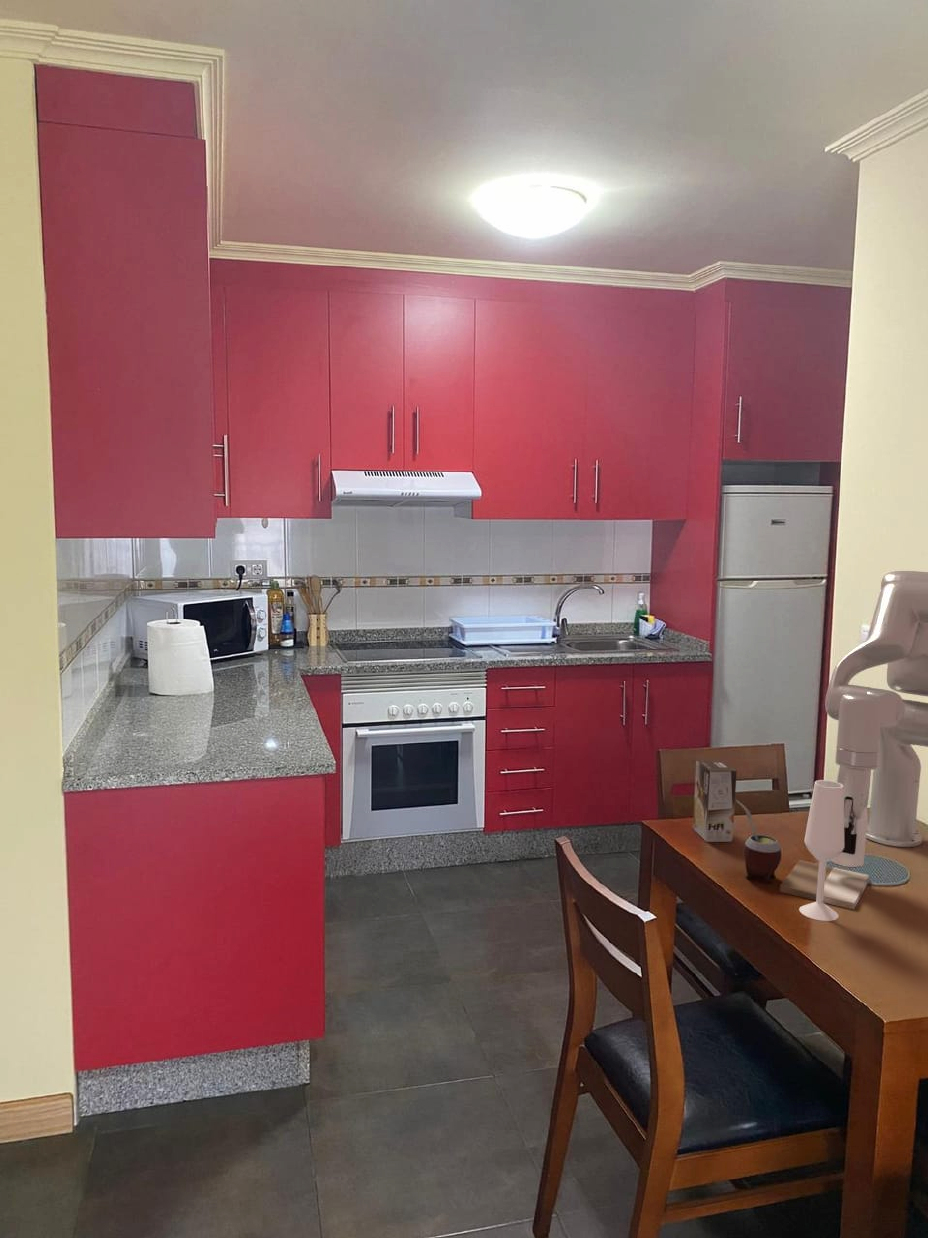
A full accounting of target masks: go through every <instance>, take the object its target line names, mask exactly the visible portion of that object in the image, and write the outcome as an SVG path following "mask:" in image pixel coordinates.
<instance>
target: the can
mask: <svg viewBox="0 0 928 1238" xmlns="http://www.w3.org/2000/svg"><path fill="white" fill-rule="evenodd" d="M865 806H866V805H865ZM850 817H855V814H853V813H851V815H850ZM868 819H869V815H868V809H866V807H865V808H864V811H863V813H862V816H861V818H860V819H858V820H857V824H856V831H855V834H857V838H856V850H855V854H848V853H843V852H841V853H840V854H839V855H838V856H837V857H835V858H834V859H832V860H831V861H830V862H831V863H833V864H834V865H836V866H840V867H842V868H849V869H850V868H852V869H855V868H861V867H862V866H863V865H864V863H865V852H866V843H867V842H866V841H867V838H866V831H867V824H868ZM850 822H851V823H852V825H853V821H852V820H850Z"/></svg>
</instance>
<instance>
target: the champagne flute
mask: <svg viewBox="0 0 928 1238" xmlns="http://www.w3.org/2000/svg"><path fill="white" fill-rule="evenodd" d="M808 812H809V813H808V818H807V824H806V829H805V834H804V845H805V847H806V849H807V850H808V852H809V853H810V854H811V855H812V856H813V857H814V858H815V859H816V860H818V862H819V863H818V864H819V872H818V885H817V897H816V900H815V901H814V902H811V903H810V902H809V903H807V904H804V905H802V906H800V907H799V909H798V911H799V912H800V913H801V914H802V915H803V916H805V917H807V918H808V919H813V920H816V921H817V920H818V921H822V922H831V921H836V920H837V919H838V918H839V917H840V916H839V914H838V913H837V912H836V911H835V910H834V909H832V907H830V906H828V905H827V904H826V903H824V902H823V897H824V885H825V872H826V866H827V862H831V860H832V859H834V858H835V857H837V856H838V855H839V854H840V853H841V852H842V851H843V849H844V799H843V785H842V784H840V783H838V782H837V781H834V780H829V779H828V780H827V779H819V780H815V781H814V785H813V790H812V796H811V801H810V807H809V811H808Z"/></svg>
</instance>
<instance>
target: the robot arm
mask: <svg viewBox="0 0 928 1238" xmlns="http://www.w3.org/2000/svg"><path fill="white" fill-rule="evenodd" d="M875 605H876V606H875V609H874V613H873V617H872V620H871V622H870V627H869V629H868V633H867V637H866V639H865V641H863V642H862V643H860V644H858V645H857V646H855V647H854V648H853V649H851V650H850V651H848V652H847V653H846V654H845V655H844V656H843V657H842V658H841V659H840V660H839V661H838V662H837V663H836V665H835V667H834V669H833V671H832V674H831V678H830V681H829V684H828V687H827V691H826V694H825V701H824V706H825V707H824V708H825V712H826V714H827V716H829V717H830V718H831V719H833V720H835V721H838V724H837V725H838V726H837V736H836V746H835V747H836V750H835V759H834V760H835V764H837V765H838V766H839V768H838V773H837V777H836V778H837V779H836V782H838V783H840V784H842V785H843V799H844V849H843V851H842V852H843V853H848V854H855V850H856V838H857V834H855V831H856V824H857V820H858V819H860V818H861V816H862V813H863V811H864V808H865V807H866V809H867V808H868V804H869V796H870V804H869V805H870V806H869V815H868V823H867V831H866V839H868V840H870V841H873V842H875V843H878V844H881V845H887V846H892V847H899V848H900V847H901V848H903V847H904V848H908V847H909V848H910V847H911V848H912V847H917V846H919V845H921V844H922V843H923V836H922V835H921V834H920V833H919V832H917V830H916V825H917V812H918V803H919V802H918V801H919V792H920V791H919V790H920V780H921V773H922V772H921V770H922V766H921V760H920V758H919V755H918V754H917V752H916V751H915V750H914V747H913V746H920V747H927V748H928V702H923V701H920V700H918V701H917V700H912V699H904V698H902V696H901V694H898V693H902V694H907V695H914V696H922V697H928V571H919V570H918V571H916V570H915V571H914V570H898V571H897V570H895V571H891V572H888V573H885V575H883V577H882V579H881V582H880V592H879V595H878V598H877V603H876V604H875ZM886 664H887V668H886V669H887V670H886V683H887V686H888V687H889V688H890V689H891V690H888V689H883V688H874V687H871V686H862V685H854V684H849V683H850V682H851V680H852V679H853V678H854V677H855V676H857V675H859V674H860V673H862V672H863V671H866V670H868V669H872V668H876V667H878V666H879V667H880V666H883V665H886ZM892 690H893V691H892ZM872 771H873V772H872ZM871 772H872V774H871ZM871 775H872V776H871ZM871 777H872V779H871ZM871 780H872V782H871ZM870 787H871V791H870ZM870 792H871V793H870ZM865 805H866V806H865ZM867 810H868V809H867ZM851 813H853V814H855V817H850V815H851ZM850 820H852V821H853V825H852V823H851V822H850Z"/></svg>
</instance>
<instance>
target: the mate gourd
mask: <svg viewBox="0 0 928 1238" xmlns="http://www.w3.org/2000/svg"><path fill="white" fill-rule="evenodd" d="M735 803H737V804H738V805H740V806H741V808H743V809H744V811H745V812H746V813H745V814H746V817H747V818H748V821H749V824H750V828H751V831H752V834H753V835H751V836H749V837H748V838H747V839H746V841H745V843H744V847H743V858H744V862H745V870H746V876H745V879H746V880H748V881H750V880H760V881H762V882H763V883H764V884H766V885H767V886H768V885H771V883H772V882H771V881H770V879H776V875H775V871H776V870H777V869H778V868H779V866H780V863H781V862H782V861H781V860H782V850H781V849H782V848H781V845H780V843H779V841H778V840H777V839H776V838H774V837H772V836H770V835H765V834H757V832H756V829H755V825H754V822H753V819H752V814H751V811H750V810H749V809H748V808H747V807H746V806H745V805H744V804H743V803H741V802H740V801H739V800H738V799H735Z"/></svg>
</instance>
